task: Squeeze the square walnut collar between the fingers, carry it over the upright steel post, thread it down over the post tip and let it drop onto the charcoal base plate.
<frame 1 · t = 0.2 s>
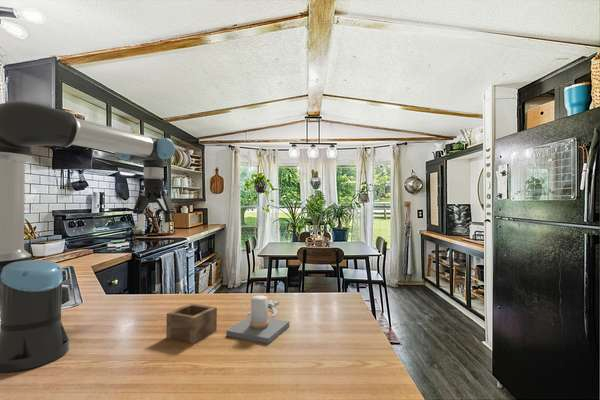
hand: (152, 230, 130), 28 cm above the countertop, tool pointing down, fingers open, 13 cm apart
post: (259, 330, 97), on the countertop
pliers: (268, 310, 117), on the countertop
collar: (192, 334, 94), on the countertop
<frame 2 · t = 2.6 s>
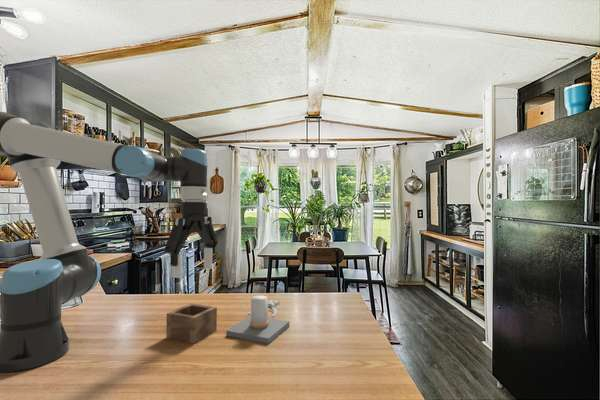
hand: (193, 272, 94), 18 cm above the countertop, tool pointing down, fingers open, 13 cm apart
nothing on the countertop moved.
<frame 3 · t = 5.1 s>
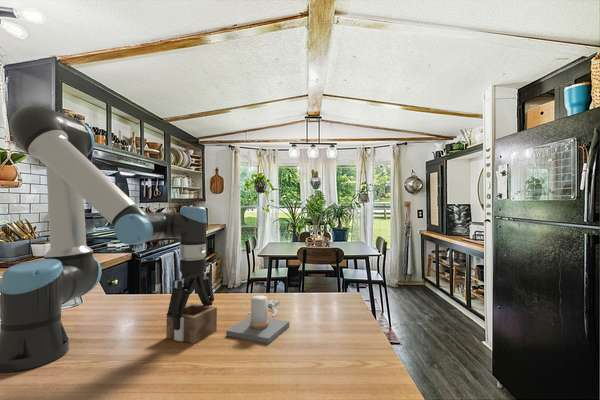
hand: (192, 333, 94), 0 cm above the countertop, tool pointing down, fingers closed on collar, 10 cm apart
collar: (192, 334, 94), on the countertop, touching gripper
everything else where it was.
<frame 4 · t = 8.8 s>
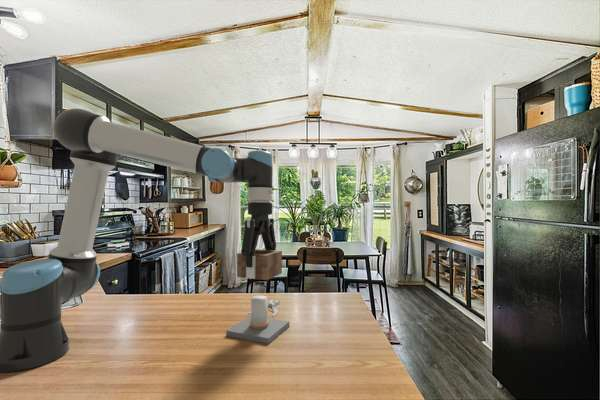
hand: (259, 274, 97), 17 cm above the countertop, tool pointing down, fingers closed on collar, 10 cm apart
collar: (260, 275, 97), point 17 cm above the countertop, touching gripper
everything else where it was.
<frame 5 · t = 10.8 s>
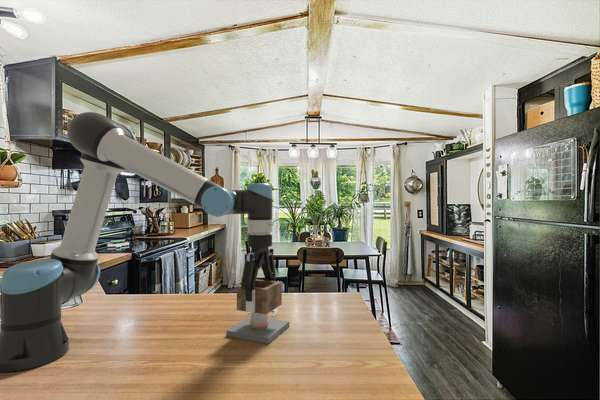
hand: (259, 306, 97), 7 cm above the countertop, tool pointing down, fingers closed on collar, 10 cm apart
collar: (259, 307, 97), point 7 cm above the countertop, touching gripper
everything else where it was.
when the fingers open (3 cm above the countertop, at t = 12.6 s): collar drops 1 cm, resting on post.
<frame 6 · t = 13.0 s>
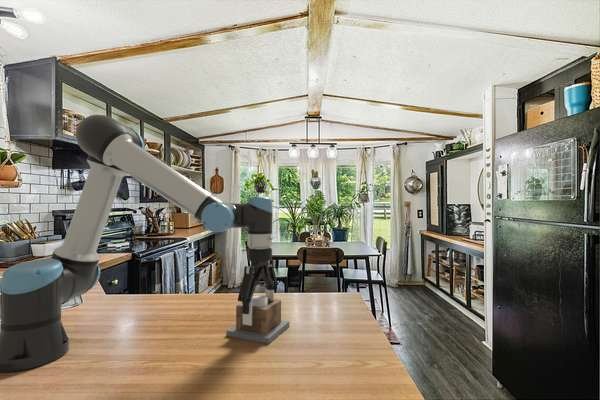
hand: (259, 316, 97), 4 cm above the countertop, tool pointing down, fingers open, 13 cm apart
collar: (259, 325, 97), point 1 cm above the countertop, touching post
everything else where it was.
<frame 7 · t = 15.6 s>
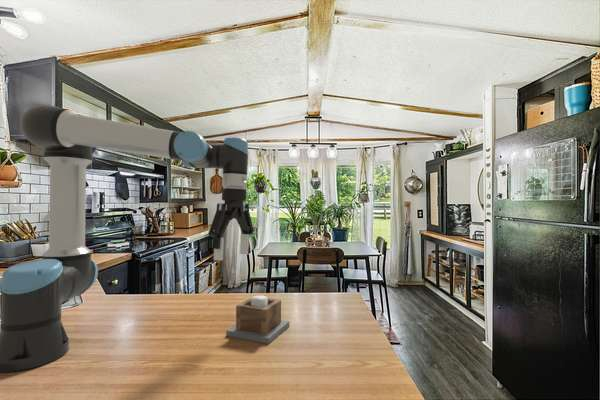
hand: (232, 256, 98), 22 cm above the countertop, tool pointing down, fingers open, 13 cm apart
nothing on the countertop moved.
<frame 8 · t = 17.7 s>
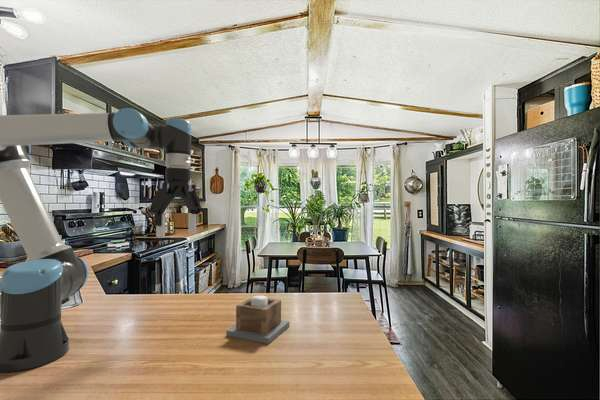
hand: (177, 235, 100), 29 cm above the countertop, tool pointing down, fingers open, 13 cm apart
nothing on the countertop moved.
at the end: collar 0.0 cm off-centre on the post, point 1.5 cm above the post's base; the gripper is holding nothing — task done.
